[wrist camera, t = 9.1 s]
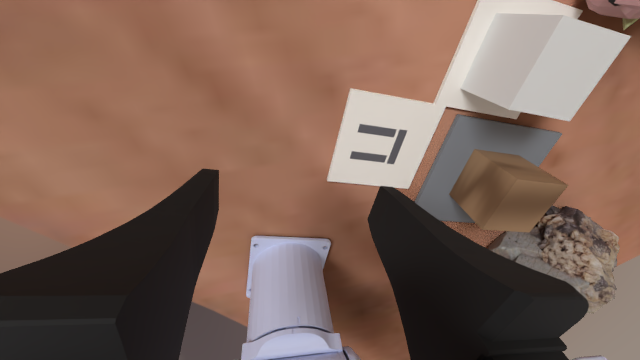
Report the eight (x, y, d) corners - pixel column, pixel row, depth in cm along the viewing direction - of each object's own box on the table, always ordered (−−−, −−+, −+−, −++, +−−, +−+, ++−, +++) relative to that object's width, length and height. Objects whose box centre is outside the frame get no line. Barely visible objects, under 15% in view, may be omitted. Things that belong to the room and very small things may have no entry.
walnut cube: (490, 198, 27) (529, 232, 23) (448, 194, 26) (482, 229, 22) (519, 155, 25) (568, 185, 21) (474, 148, 24) (517, 179, 19)
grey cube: (512, 99, 21) (569, 121, 17) (460, 88, 20) (508, 109, 16) (552, 29, 19) (631, 36, 15) (495, 13, 18) (563, 15, 14)
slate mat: (494, 222, 30) (496, 224, 30) (407, 215, 27) (409, 218, 27) (558, 132, 24) (562, 133, 24) (457, 114, 22) (459, 115, 21)
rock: (523, 234, 37) (634, 248, 28) (499, 313, 33) (621, 356, 24) (497, 193, 33) (615, 194, 25) (467, 276, 29) (597, 311, 21)
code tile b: (513, 118, 23) (516, 119, 23) (433, 103, 21) (435, 104, 21) (579, 10, 19) (583, 10, 18) (486, -20, 17) (489, -21, 17)
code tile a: (407, 187, 25) (408, 188, 25) (326, 179, 23) (327, 181, 23) (444, 105, 21) (446, 106, 21) (350, 88, 19) (351, 89, 19)
